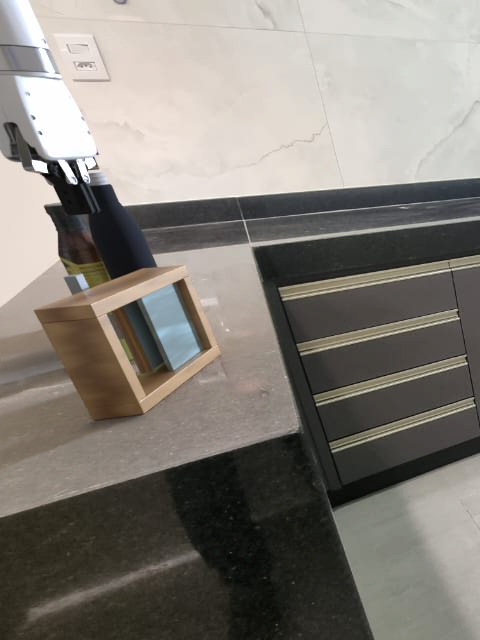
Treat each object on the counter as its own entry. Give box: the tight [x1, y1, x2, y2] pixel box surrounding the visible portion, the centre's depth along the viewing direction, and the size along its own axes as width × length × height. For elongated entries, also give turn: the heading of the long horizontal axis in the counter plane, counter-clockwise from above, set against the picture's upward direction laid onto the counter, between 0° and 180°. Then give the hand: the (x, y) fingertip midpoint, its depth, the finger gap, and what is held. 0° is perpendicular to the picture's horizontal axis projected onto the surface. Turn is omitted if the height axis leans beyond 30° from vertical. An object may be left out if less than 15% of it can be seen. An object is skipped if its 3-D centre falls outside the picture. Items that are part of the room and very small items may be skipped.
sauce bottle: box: [43, 201, 111, 288], centre depth 90 cm, size 7×6×20 cm
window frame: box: [33, 264, 222, 421], centre depth 65 cm, size 5×18×13 cm, turn 13°
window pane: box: [63, 274, 164, 374], centre depth 66 cm, size 4×8×13 cm, turn 13°
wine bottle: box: [87, 151, 158, 280], centre depth 88 cm, size 6×6×30 cm
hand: (84, 213), depth 74 cm, fingers closed
